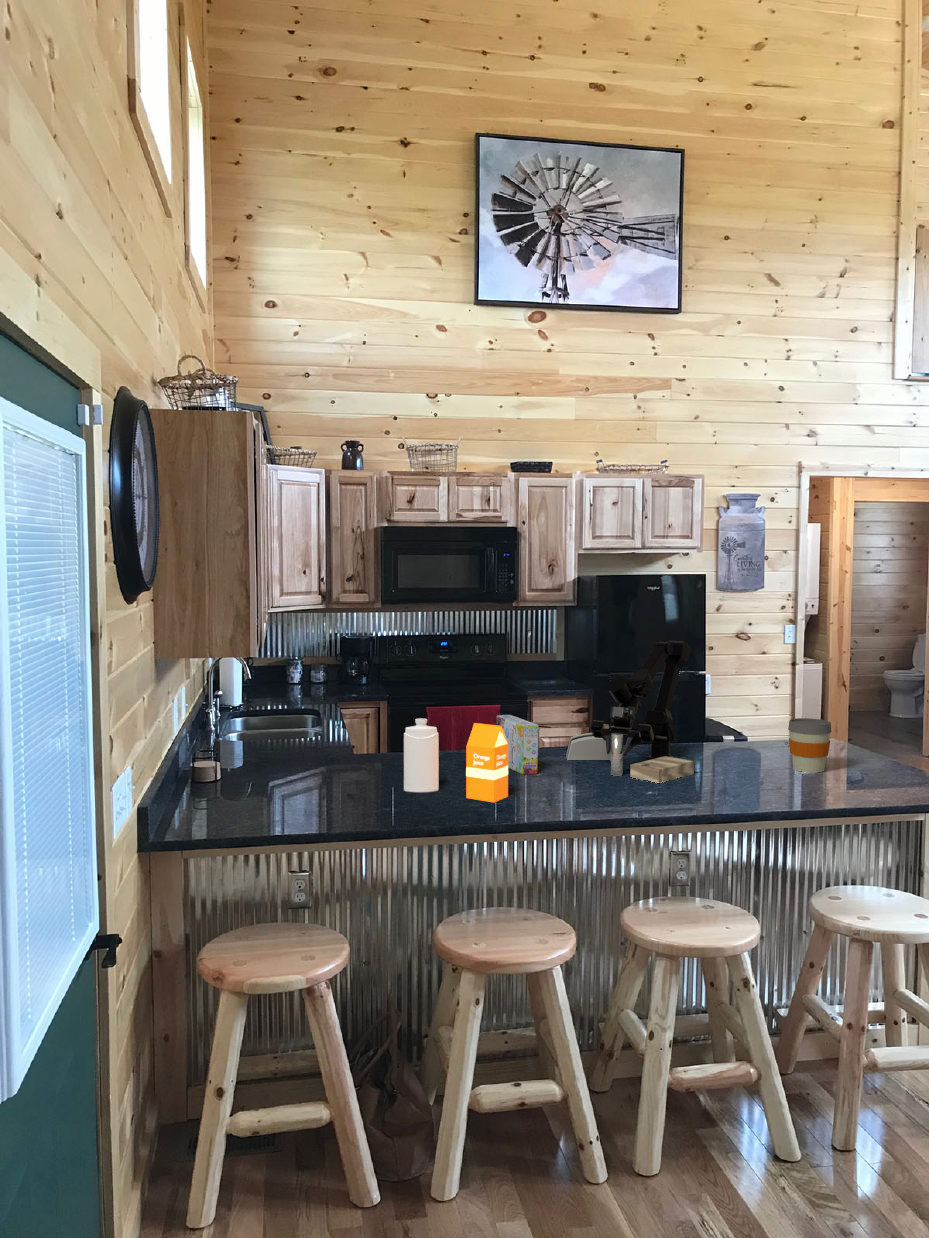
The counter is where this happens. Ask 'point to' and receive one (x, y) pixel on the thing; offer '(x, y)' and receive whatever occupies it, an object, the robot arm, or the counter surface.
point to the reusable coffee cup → (809, 743)
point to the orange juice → (487, 763)
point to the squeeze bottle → (421, 757)
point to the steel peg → (617, 754)
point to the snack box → (520, 743)
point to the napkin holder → (587, 748)
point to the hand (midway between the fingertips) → (615, 754)
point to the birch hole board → (662, 769)
